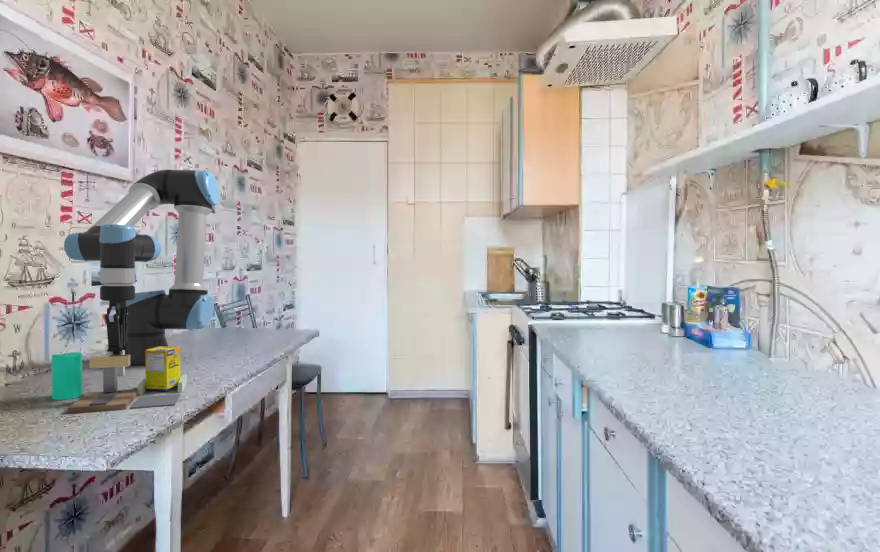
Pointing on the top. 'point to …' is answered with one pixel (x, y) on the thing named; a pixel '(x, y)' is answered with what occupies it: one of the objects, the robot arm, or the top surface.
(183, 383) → the clip holder
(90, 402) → the board
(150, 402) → the mat
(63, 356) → the candle
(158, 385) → the supplement box
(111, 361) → the t key
